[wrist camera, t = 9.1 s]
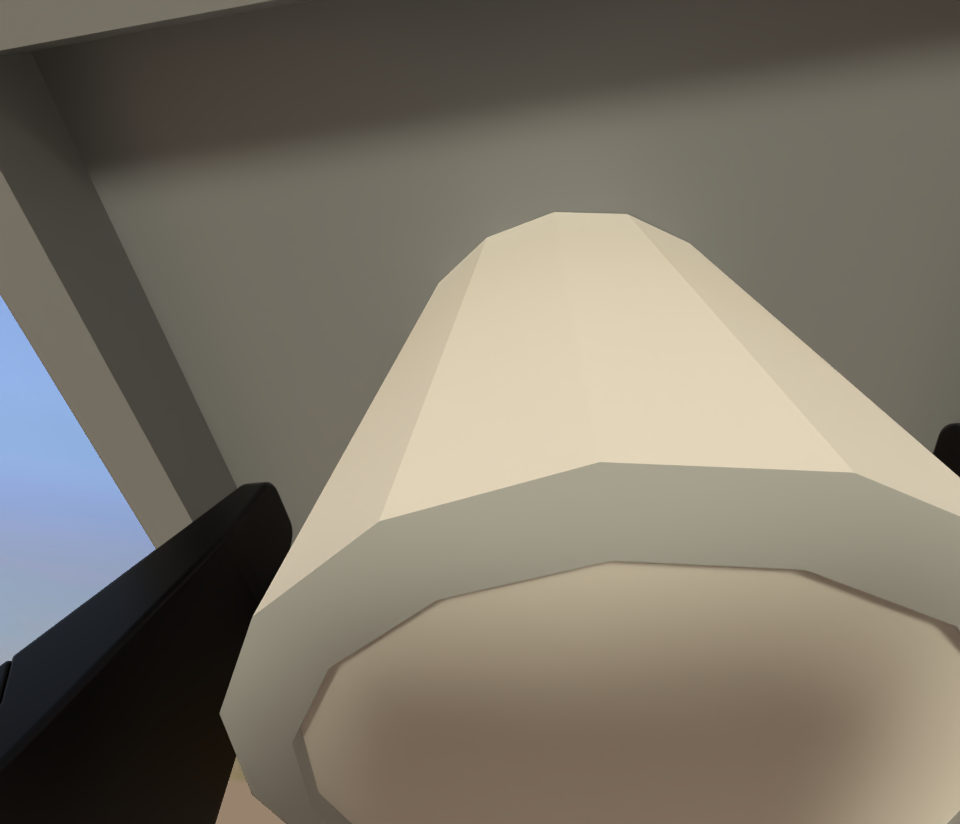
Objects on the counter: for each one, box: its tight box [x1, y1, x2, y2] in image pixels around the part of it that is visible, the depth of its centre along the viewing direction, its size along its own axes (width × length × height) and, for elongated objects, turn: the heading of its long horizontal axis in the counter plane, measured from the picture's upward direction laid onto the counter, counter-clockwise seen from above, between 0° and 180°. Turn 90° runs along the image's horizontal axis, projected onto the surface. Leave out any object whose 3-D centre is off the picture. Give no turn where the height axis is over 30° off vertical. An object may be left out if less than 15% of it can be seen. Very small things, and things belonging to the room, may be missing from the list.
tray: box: [0, 0, 960, 549], centre depth 10 cm, size 16×14×2 cm
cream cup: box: [219, 212, 960, 824], centre depth 8 cm, size 7×7×7 cm
